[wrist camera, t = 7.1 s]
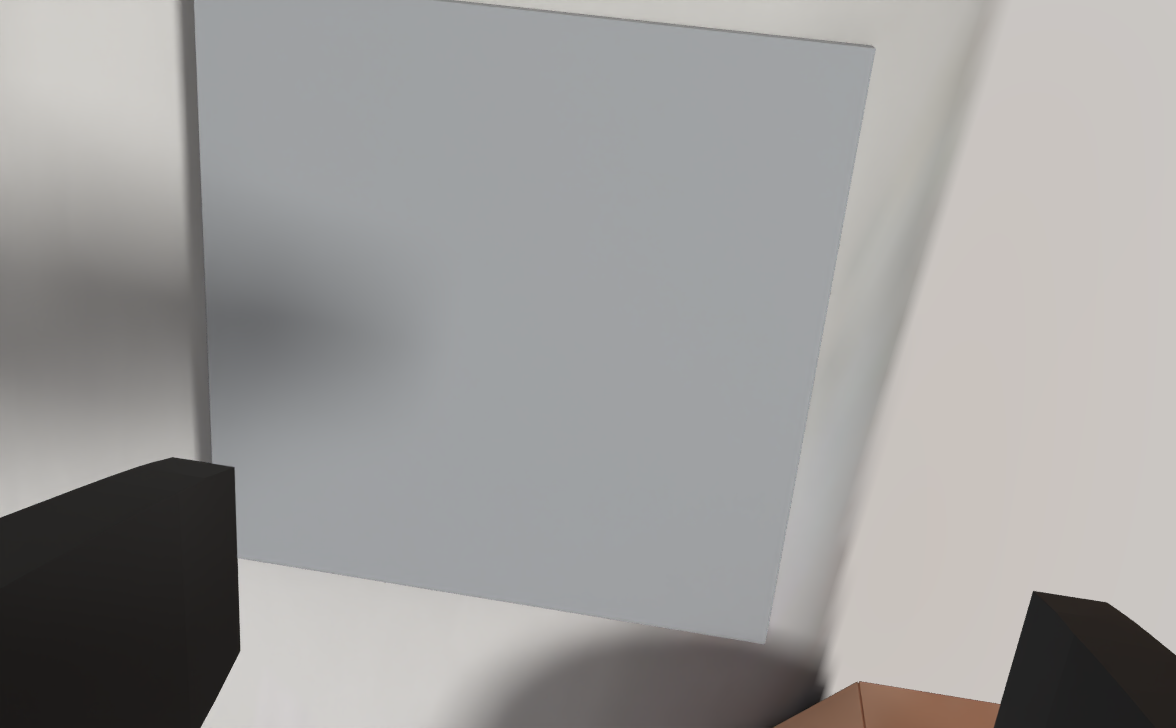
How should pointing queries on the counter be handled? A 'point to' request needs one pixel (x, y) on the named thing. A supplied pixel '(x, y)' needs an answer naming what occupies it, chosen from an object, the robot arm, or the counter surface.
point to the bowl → (894, 710)
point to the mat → (520, 295)
